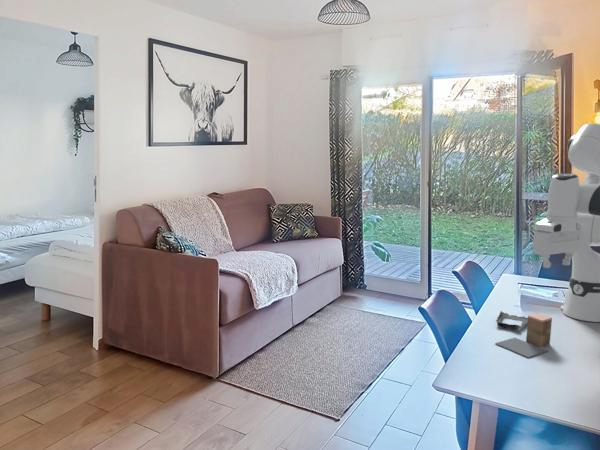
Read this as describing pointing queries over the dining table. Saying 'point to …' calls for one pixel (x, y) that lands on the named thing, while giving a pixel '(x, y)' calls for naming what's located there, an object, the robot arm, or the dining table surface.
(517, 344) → the charcoal mat
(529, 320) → the brown rectangular block
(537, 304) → the dining table surface
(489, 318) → the dining table surface
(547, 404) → the dining table surface
